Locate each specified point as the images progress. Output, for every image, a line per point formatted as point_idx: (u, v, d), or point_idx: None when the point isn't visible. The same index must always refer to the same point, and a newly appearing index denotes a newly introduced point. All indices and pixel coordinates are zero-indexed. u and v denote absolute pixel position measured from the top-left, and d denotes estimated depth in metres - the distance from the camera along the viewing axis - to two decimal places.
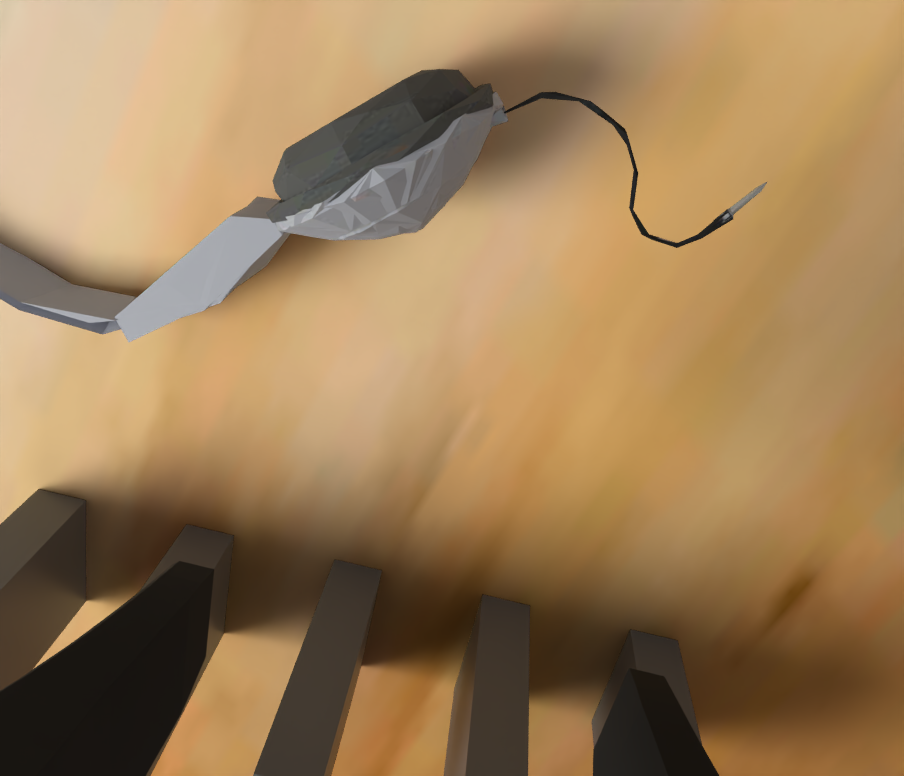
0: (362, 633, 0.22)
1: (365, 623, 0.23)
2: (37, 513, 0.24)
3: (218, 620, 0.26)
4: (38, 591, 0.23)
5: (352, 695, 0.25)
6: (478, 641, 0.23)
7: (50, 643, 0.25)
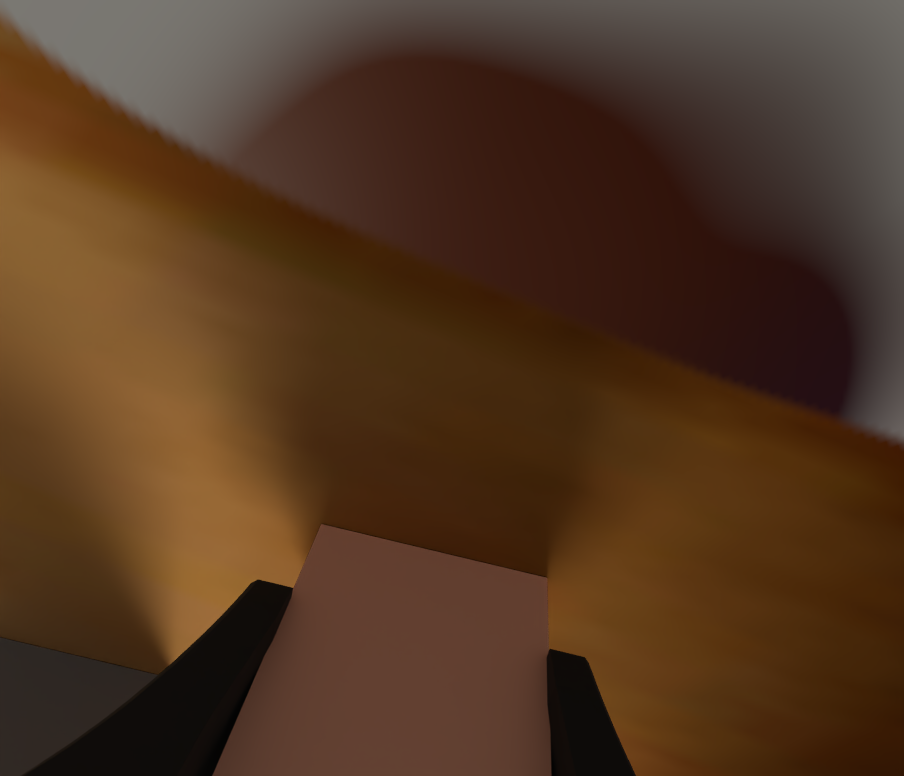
0: None
1: None
2: None
3: None
4: None
5: None
6: None
7: None
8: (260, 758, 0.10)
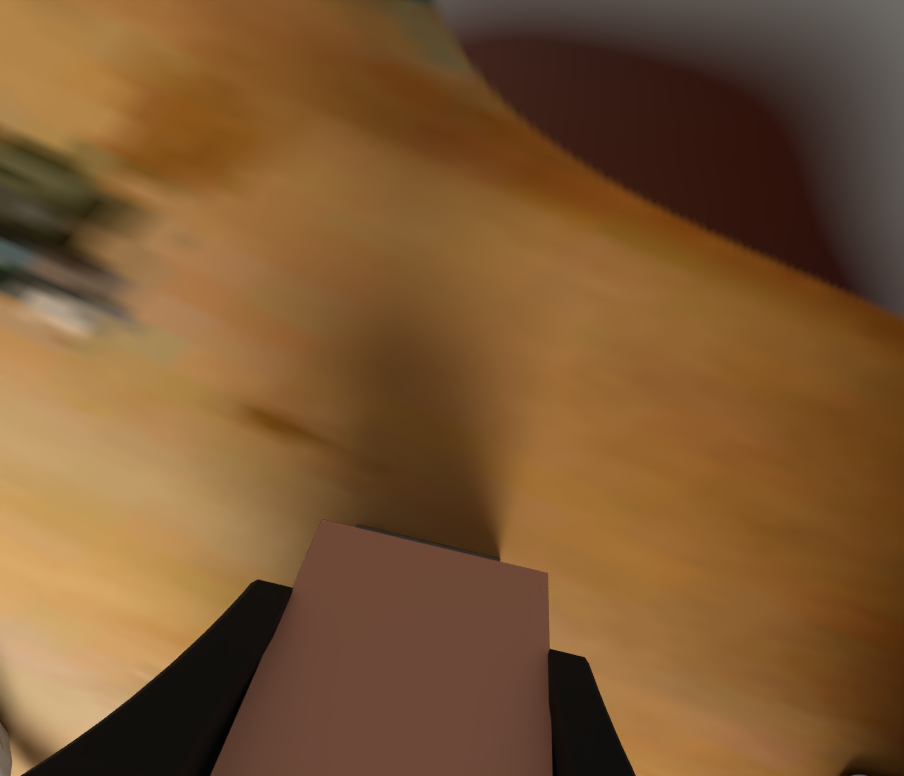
0: None
1: None
2: None
3: None
4: None
5: None
6: None
7: None
8: (261, 751, 0.10)
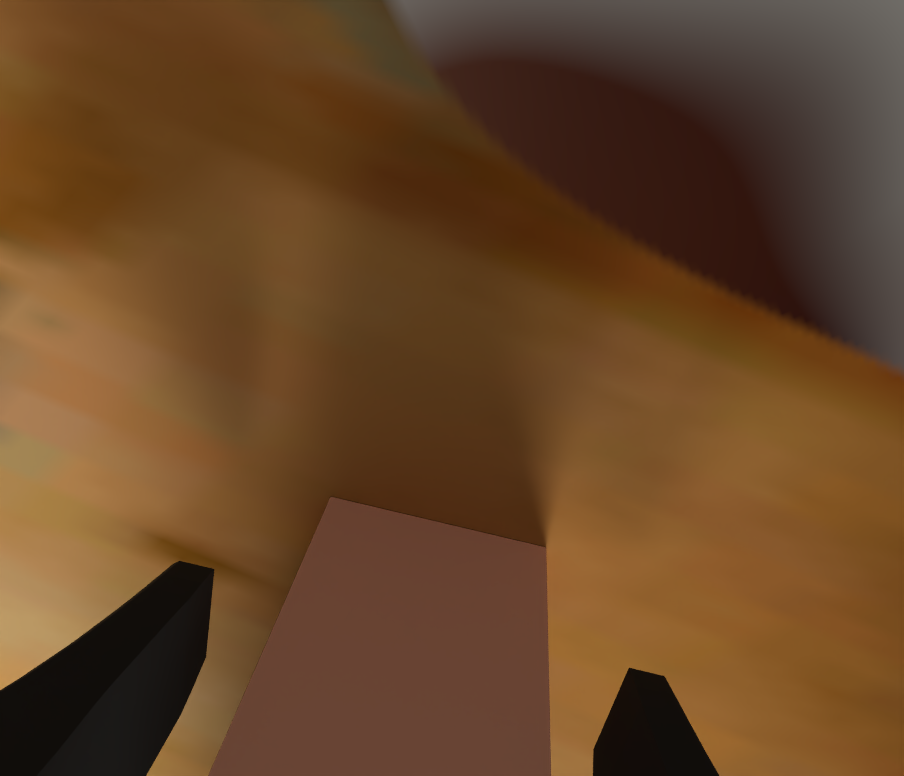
0: None
1: None
2: None
3: None
4: None
5: None
6: None
7: None
8: (278, 703, 0.11)
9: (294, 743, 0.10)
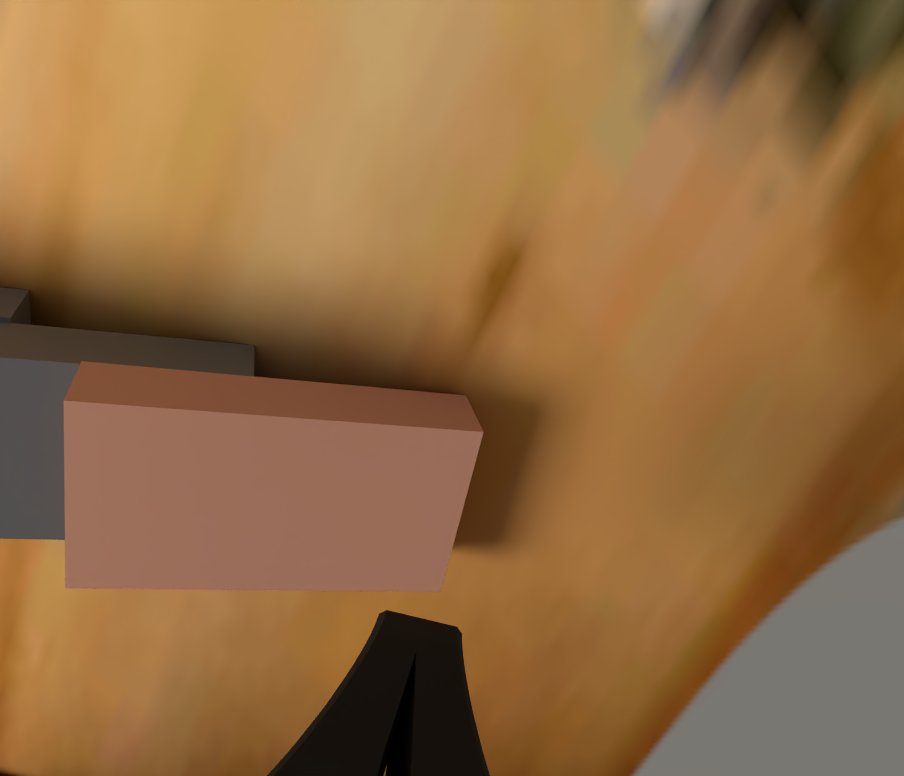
0: None
1: None
2: None
3: None
4: None
5: None
6: None
7: None
8: (233, 435, 0.15)
9: (202, 451, 0.15)
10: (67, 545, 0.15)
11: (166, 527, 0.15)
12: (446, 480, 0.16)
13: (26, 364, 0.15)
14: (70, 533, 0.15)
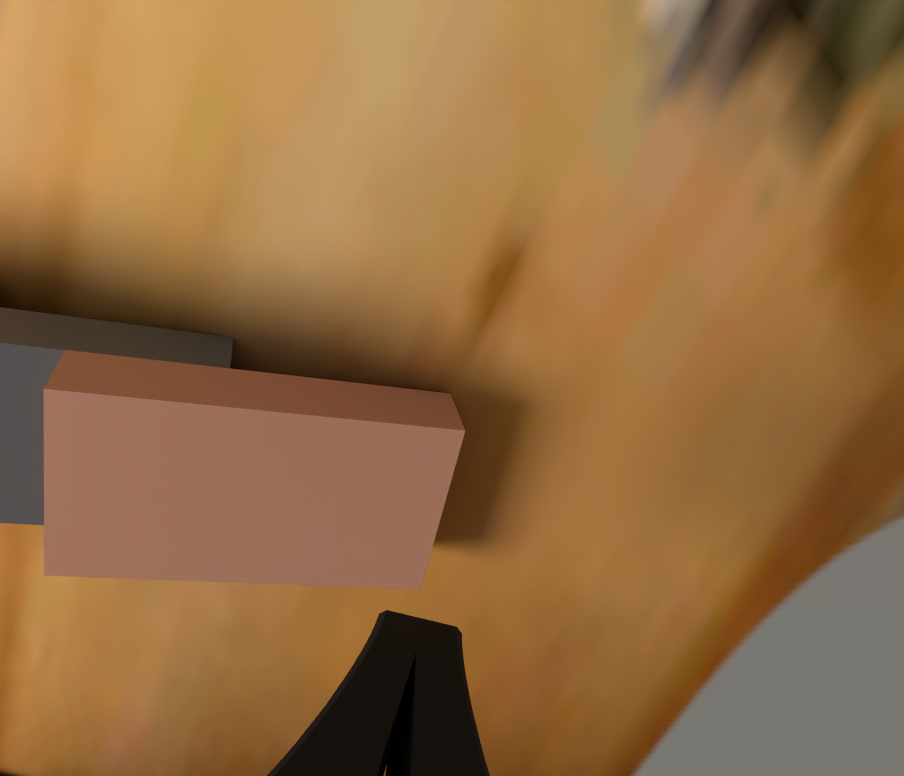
0: None
1: None
2: None
3: None
4: None
5: None
6: None
7: None
8: (213, 427, 0.15)
9: (182, 442, 0.15)
10: (46, 533, 0.15)
11: (146, 517, 0.15)
12: (427, 478, 0.16)
13: (1, 348, 0.15)
14: (49, 521, 0.15)
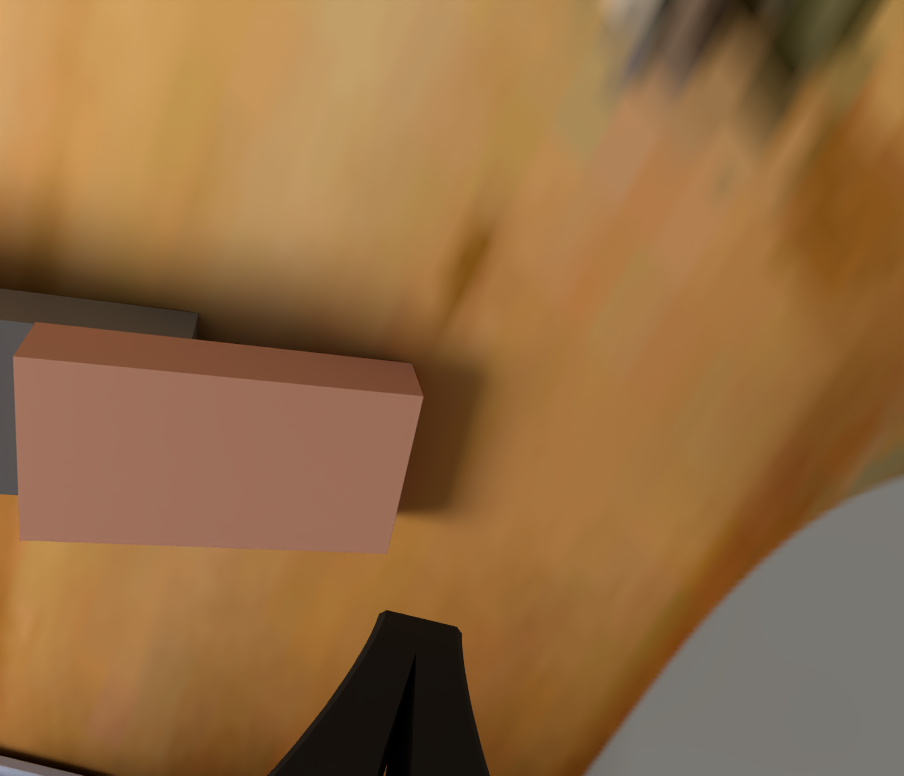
0: None
1: None
2: None
3: None
4: None
5: None
6: None
7: None
8: (178, 394, 0.15)
9: (149, 408, 0.15)
10: (20, 498, 0.16)
11: (117, 482, 0.16)
12: (388, 443, 0.17)
13: None
14: (23, 486, 0.16)
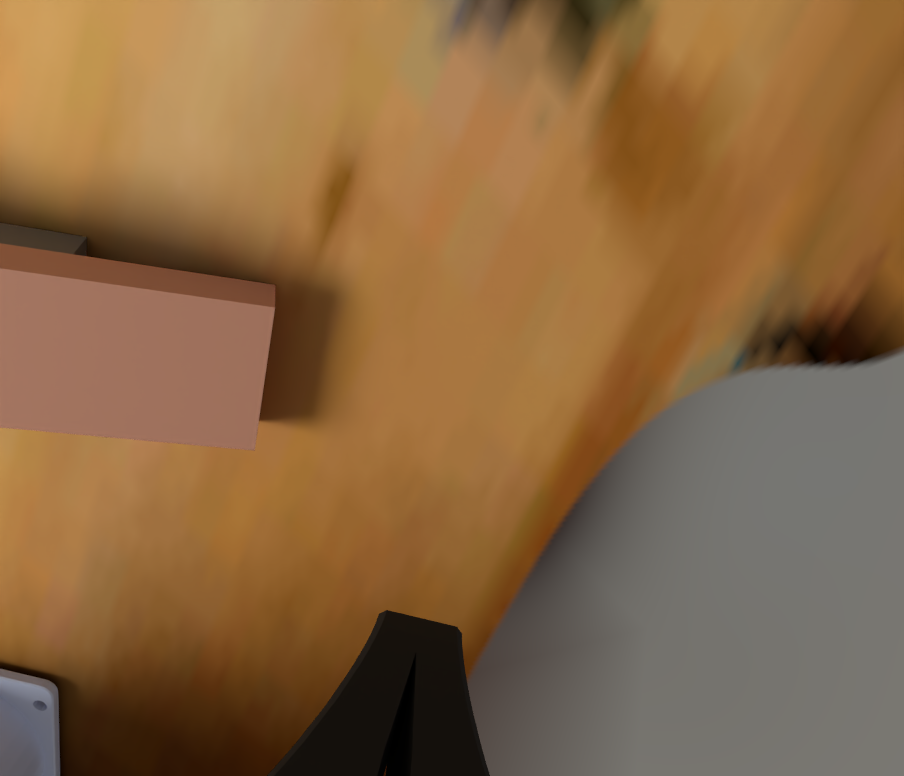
0: None
1: None
2: None
3: None
4: None
5: None
6: None
7: None
8: (60, 295, 0.18)
9: (35, 307, 0.18)
10: None
11: (11, 373, 0.19)
12: (247, 348, 0.20)
13: None
14: None
